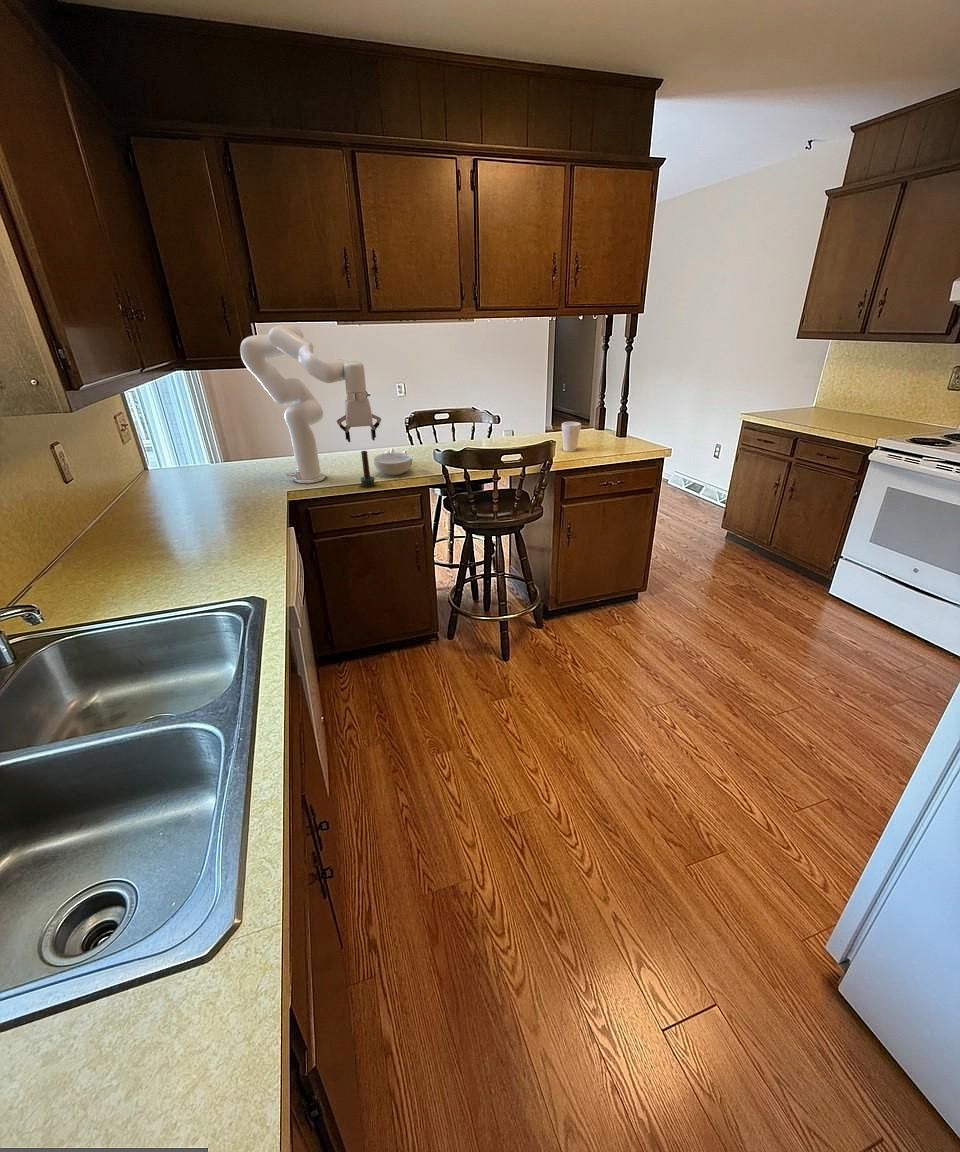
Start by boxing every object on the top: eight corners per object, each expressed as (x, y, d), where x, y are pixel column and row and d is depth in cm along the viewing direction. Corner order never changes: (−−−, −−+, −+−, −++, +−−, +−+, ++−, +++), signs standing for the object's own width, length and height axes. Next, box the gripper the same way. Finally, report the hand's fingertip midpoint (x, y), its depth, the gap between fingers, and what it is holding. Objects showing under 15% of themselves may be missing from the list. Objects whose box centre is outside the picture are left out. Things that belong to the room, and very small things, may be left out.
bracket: (404, 467, 241) (406, 451, 238) (389, 465, 238) (391, 449, 235) (398, 460, 252) (401, 445, 249) (384, 458, 249) (386, 442, 246)
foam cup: (558, 447, 266) (559, 421, 259) (575, 447, 267) (577, 421, 260) (562, 452, 257) (564, 426, 251) (581, 451, 258) (583, 425, 252)
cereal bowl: (374, 479, 223) (373, 463, 219) (375, 468, 237) (373, 453, 234) (414, 477, 225) (413, 461, 222) (412, 466, 239) (411, 451, 236)
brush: (362, 488, 213) (358, 453, 206) (360, 484, 218) (356, 450, 211) (375, 486, 215) (372, 452, 208) (373, 482, 219) (369, 449, 212)
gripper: (377, 393, 205) (380, 436, 213) (332, 395, 200) (338, 439, 208) (380, 396, 199) (384, 441, 207) (334, 399, 193) (340, 444, 202)
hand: (361, 440), depth 207 cm, fingers open, 9 cm apart
